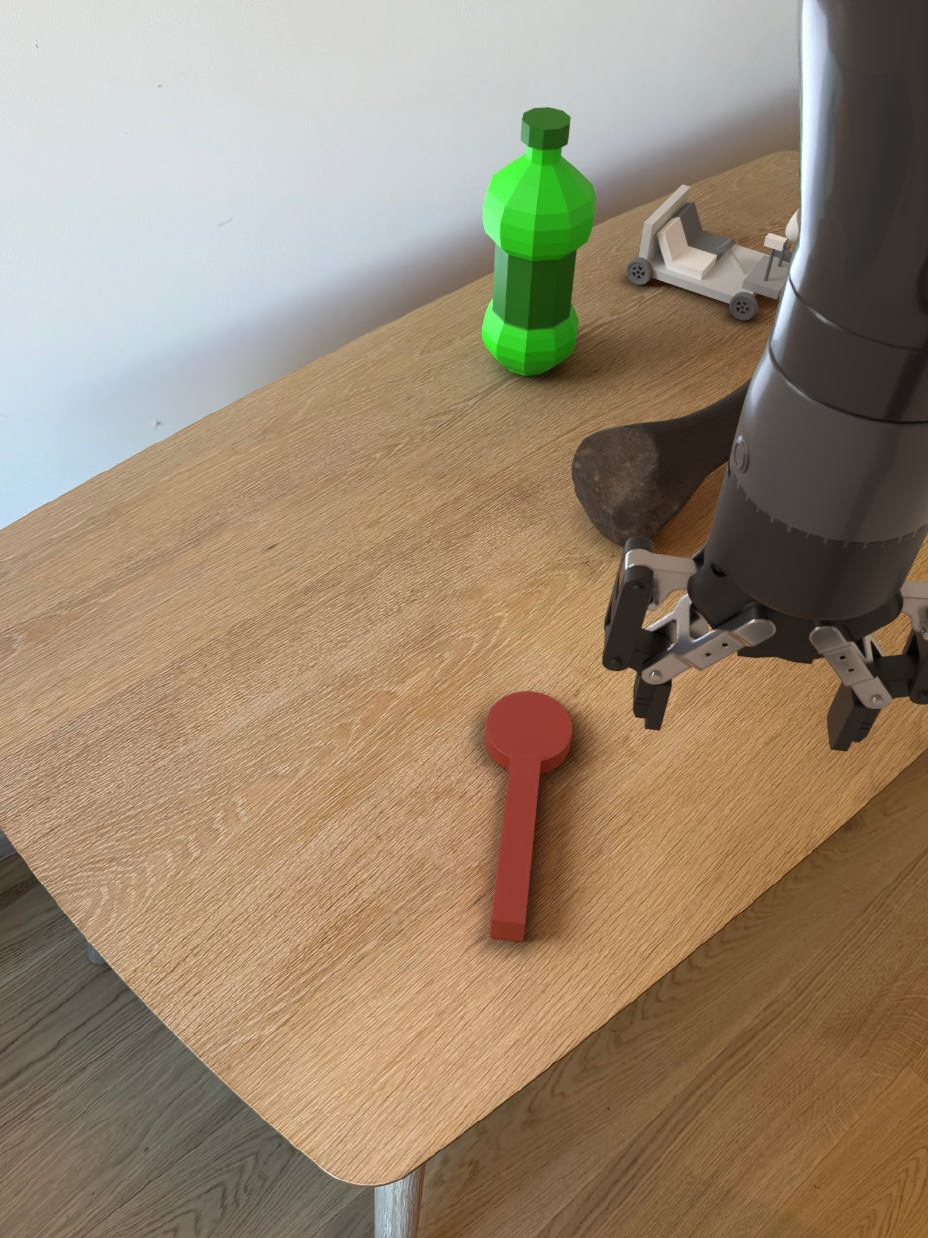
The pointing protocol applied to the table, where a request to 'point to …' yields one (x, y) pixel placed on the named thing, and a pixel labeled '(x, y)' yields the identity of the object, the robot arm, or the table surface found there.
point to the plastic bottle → (536, 247)
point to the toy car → (709, 258)
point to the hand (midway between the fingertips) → (742, 725)
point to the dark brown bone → (652, 467)
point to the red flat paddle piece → (522, 793)
